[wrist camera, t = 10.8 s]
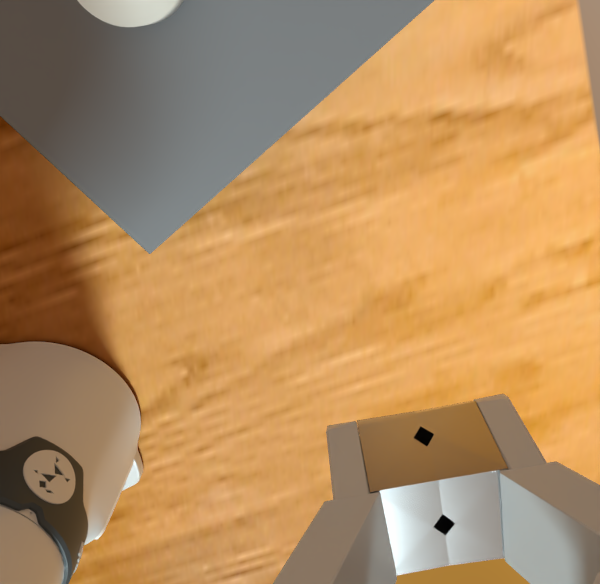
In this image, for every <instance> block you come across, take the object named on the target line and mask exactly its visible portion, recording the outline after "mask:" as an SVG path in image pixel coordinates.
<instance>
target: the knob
mask: <svg viewBox="0 0 600 584" xmlns="http://www.w3.org/2000/svg"><path fill="white" fill-rule="evenodd" d="M77 1H78V2H79V3H80V4H81V5H82V6H83V7H84V8H85V9H86V10H87V11H88V12H89V13H91V14H92V15H94V16H95V17H96V18H98V19H100V20H102V21H104V22H106V23H109V24H111V25H115V26H119V27H138V26H145V25H150V24H155V23H158V22H161V21H163V20H165V19H166V18H168V17H169V16H171V15H172V14H173V13H174V12H175V11H176V10H177V9H178V8H179V6H180V5H181V4H182V2H183V0H77Z"/></svg>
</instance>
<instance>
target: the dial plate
mask: <svg viewBox="0 0 600 584" xmlns="http://www.w3.org/2000/svg"><path fill="white" fill-rule="evenodd" d="M433 1H434V0H183V2H182V4H181V5H180V6H179V8H178V9H177V10H176V11H175V12H174V13H173V14H172V15H171V16H169V17H168V18H166V19H165V20H163V21H161V22H158V23H155V24H150V25H145V26H138V27H119V26H115V25H111V24H109V23H106V22H104V21H102V20H100V19H98V18H96V17H95V16H94V15H92V14H91V13H89V12H88V11H87V10H86V9H85V8H84V7H83V6H82V5H81V4H80V3H79V2H78V1H77V0H0V116H1V117H2V118H3V119H4V120H5V121H6V122H7V123H8V124H9V125H11V126H12V127H13V128H14V129H15V130H16V131H17V132H18V133H19V134H20V135H21V136H22V137H24V138H25V139H26V140H27V141H28V142H29V143H30V144H31V145H32V146H33V147H34V148H35V149H37V150H38V151H39V152H40V153H41V154H42V155H43V156H44V157H45V158H46V159H47V160H48V161H49V162H51V163H52V164H53V165H54V166H55V167H56V168H57V169H58V170H59V171H60V172H61V173H62V174H64V175H65V176H66V177H67V178H68V179H69V180H70V181H71V182H72V183H73V184H74V185H75V186H77V187H78V188H79V189H80V190H81V191H82V192H83V193H84V194H85V195H86V196H87V197H88V198H90V199H91V200H92V201H93V202H94V203H95V204H96V205H97V206H98V207H99V208H100V209H101V210H103V211H104V212H105V213H106V214H107V215H108V216H109V217H110V218H111V219H112V220H113V221H114V222H115V223H117V224H118V225H119V226H120V227H121V228H122V229H123V230H124V231H125V232H126V233H127V234H128V235H130V236H131V237H132V238H133V239H134V240H135V241H136V242H137V243H138V244H139V245H140V246H141V247H143V248H144V249H145V250H146V251H147V252H148V253H149V254H151V253H152V252H153V251H154V250H155V249H156V248H157V247H158V246H160V245H161V244H162V243H163V242H164V241H165V240H166V239H167V238H169V237H170V236H171V235H172V234H173V233H174V232H175V231H176V230H178V229H179V228H180V227H181V226H182V225H183V224H184V223H185V222H186V221H188V220H189V219H190V218H191V217H192V216H193V215H194V214H195V213H197V212H198V211H199V210H200V209H201V208H202V207H203V206H204V205H206V204H207V203H208V202H209V201H210V200H211V199H212V198H213V197H214V196H216V195H217V194H218V193H219V192H220V191H221V190H222V189H223V188H225V187H226V186H227V185H228V184H229V183H230V182H231V181H232V180H234V179H235V178H236V177H237V176H238V175H239V174H240V173H241V172H243V171H244V170H245V169H246V168H247V167H248V166H249V165H250V164H251V163H253V162H254V161H255V160H256V159H257V158H258V157H259V156H260V155H262V154H263V153H264V152H265V151H266V150H267V149H268V148H269V147H271V146H272V145H273V144H274V143H275V142H276V141H277V140H278V139H279V138H281V137H282V136H283V135H284V134H285V133H286V132H287V131H288V130H290V129H291V128H292V127H293V126H294V125H295V124H296V123H297V122H299V121H300V120H301V119H302V118H303V117H304V116H305V115H306V114H308V113H309V112H310V111H311V110H312V109H313V108H314V107H315V106H316V105H318V104H319V103H320V102H321V101H322V100H323V99H324V98H325V97H327V96H328V95H329V94H330V93H331V92H332V91H333V90H334V89H336V88H337V87H338V86H339V85H340V84H341V83H342V82H343V81H344V80H346V79H347V78H348V77H349V76H350V75H351V74H352V73H353V72H355V71H356V70H357V69H358V68H359V67H360V66H361V65H362V64H364V63H365V62H366V61H367V60H368V59H369V58H370V57H371V56H373V55H374V54H375V53H376V52H377V51H378V50H379V49H380V48H381V47H383V46H384V45H385V44H386V43H387V42H388V41H389V40H390V39H392V38H393V37H394V36H395V35H396V34H397V33H398V32H399V31H401V30H402V29H403V28H404V27H405V26H406V25H407V24H408V23H409V22H411V21H412V20H413V19H414V18H415V17H416V16H417V15H418V14H420V13H421V12H422V11H423V10H424V9H425V8H426V7H427V6H429V5H430V4H431V3H432V2H433Z"/></svg>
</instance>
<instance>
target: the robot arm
mask: <svg viewBox="0 0 600 584" xmlns="http://www.w3.org/2000/svg"><path fill="white" fill-rule="evenodd" d="M357 424H358V427H357ZM140 428H141V417H140V411H139V407H138V404H137V401H136V399H135V397H134V395H133V393H132V391H131V389H130V388H129V387H128V385H127V384H126V383H125V381H124V380H123V379H122V378H121V377H120V376H119V375H118V374H117V373H116V372H115V371H114V370H113V369H112V368H111V367H109V366H108V365H107V364H105V363H104V362H102V361H101V360H99V359H97V358H96V357H94V356H92V355H90V354H88V353H86V352H84V351H81V350H79V349H76V348H73V347H70V346H66V345H62V344H57V343H51V342H21V343H13V344H0V584H68V583H69V581H70V579H71V577H72V575H73V573H74V572H75V571H76V569H77V566H78V564H79V561H80V559H81V556H82V552H83V546H84V545H86V544H88V543H89V542H91V541H92V540H94V539H99V538H100V536H101V535H102V534H103V532H104V531H105V529H106V526H107V524H108V522H109V519H110V517H111V515H112V513H113V510H114V508H115V506H116V503H117V501H118V499H119V496H120V494H121V492H122V490H124V489H126V488H129V487H131V486H133V485H135V484H136V483H137V482H138V481H139V480H140V477H141V475H142V473H143V464H142V460H141V457H140V454H139V452H138V439H139V434H140ZM358 430H359V431H358ZM326 434H327V443H328V453H329V462H330V472H331V481H332V491H333V500H330V501H325V502H324V503H323V505H322V506H321V508H320V510H319V511H318V513H317V514H316V516H315V518H314V519H313V521H312V522H311V524H310V525H309V527H308V529H307V530H306V532H305V533H304V535H303V537H302V538H301V540H300V541H299V543H298V545H297V546H296V548H295V549H294V551H293V552H292V554H291V556H290V557H289V559H288V560H287V562H286V564H285V565H284V567H283V568H282V570H281V572H280V573H279V575H278V576H277V578H276V579H275V581H274V583H273V584H395V583H396V580H397V577H396V575H402V574H407V573H412V572H417V571H422V570H427V569H433V568H438V567H443V566H448V565H456V564H463V563H471V562H478V561H485V560H493V559H500V558H505V561H506V562H507V563H508V564H509V565H510V566H511V567H512V568H514V569H515V570H516V571H517V572H518V573H519V574H520V575H521V576H523V577H524V578H525V579H526V580H527V581H528V582H529V583H530V584H600V485H598V484H597V483H595V482H593V481H591V480H589V479H587V478H586V477H584V476H582V475H580V474H578V473H577V472H575V471H573V470H571V469H569V468H567V467H566V466H564V465H562V464H560V463H558V462H550V463H546V461H545V459H544V457H543V456H542V454H541V452H540V451H539V449H538V447H537V445H536V444H535V442H534V440H533V439H532V437H531V435H530V434H529V432H528V430H527V428H526V427H525V425H524V423H523V422H522V420H521V418H520V416H519V415H518V413H517V411H516V410H515V408H514V406H513V404H512V403H511V401H510V399H509V398H508V396H506V395H504V394H499V395H494V396H489V397H485V398H480V399H475V400H473V401H468V402H462V403H457V404H452V405H446V406H441V407H436V408H431V409H425V410H420V411H414V412H408V413H401V414H395V415H389V416H382V417H376V418H370V419H363V420H357V422H355V421H354V422H348V423H341V424H335V425H329V426H327V431H326ZM359 435H360V436H359Z"/></svg>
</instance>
